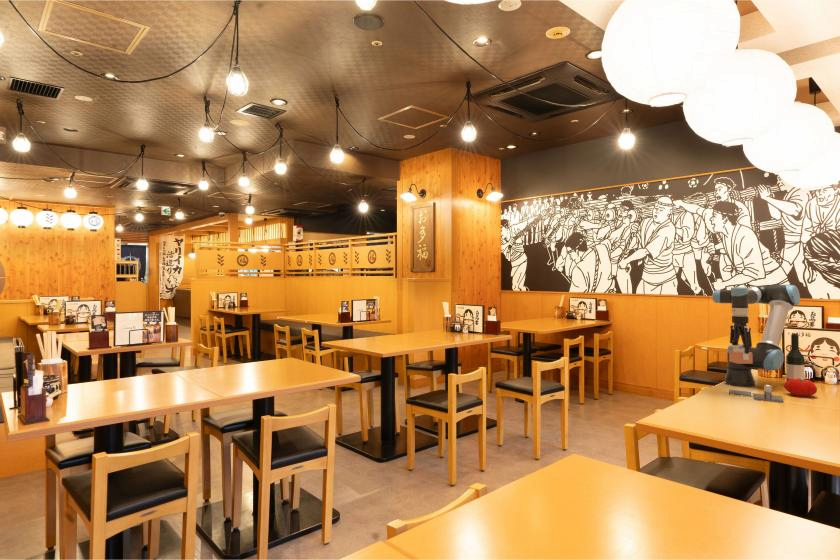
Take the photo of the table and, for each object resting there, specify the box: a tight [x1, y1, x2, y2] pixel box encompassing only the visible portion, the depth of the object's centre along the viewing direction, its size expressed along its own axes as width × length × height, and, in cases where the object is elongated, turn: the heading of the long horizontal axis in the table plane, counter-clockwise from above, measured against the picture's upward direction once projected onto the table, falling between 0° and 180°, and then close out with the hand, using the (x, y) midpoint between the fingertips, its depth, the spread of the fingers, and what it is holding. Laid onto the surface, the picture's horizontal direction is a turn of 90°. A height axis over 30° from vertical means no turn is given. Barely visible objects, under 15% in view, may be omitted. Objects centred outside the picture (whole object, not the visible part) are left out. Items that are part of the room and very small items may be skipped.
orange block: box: [729, 349, 753, 364], centre depth 263 cm, size 8×8×7 cm
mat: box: [728, 389, 752, 397], centre depth 264 cm, size 10×10×1 cm
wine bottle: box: [785, 332, 806, 381], centre depth 282 cm, size 8×8×30 cm
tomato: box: [783, 379, 818, 397], centre depth 258 cm, size 14×13×9 cm
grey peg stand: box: [752, 384, 785, 404], centre depth 251 cm, size 12×12×7 cm
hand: (740, 358), depth 263 cm, fingers closed on orange block, 8 cm apart
